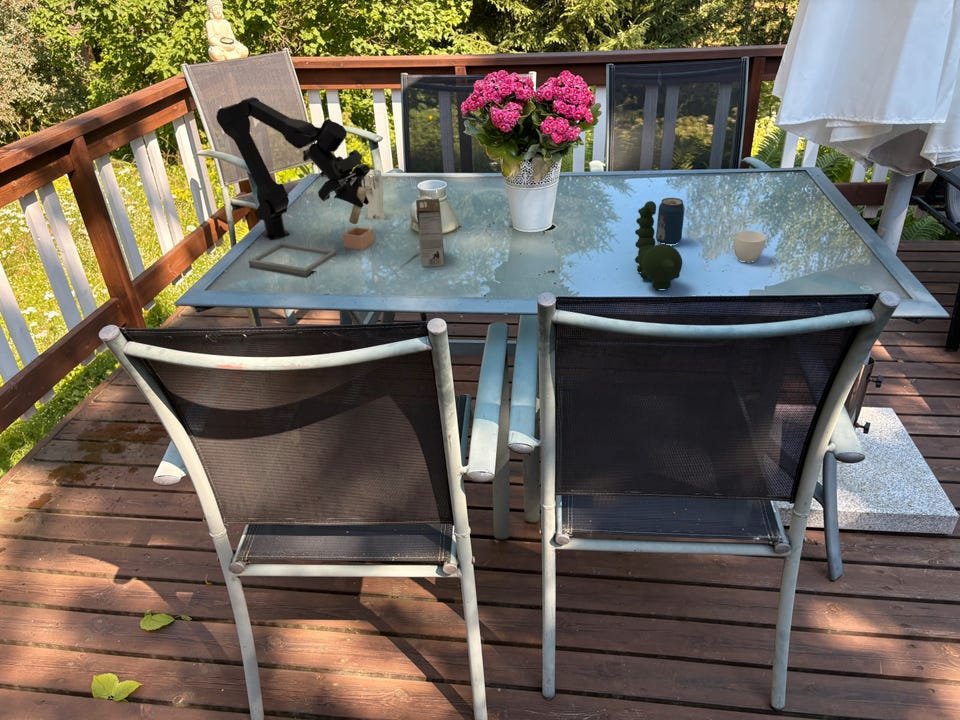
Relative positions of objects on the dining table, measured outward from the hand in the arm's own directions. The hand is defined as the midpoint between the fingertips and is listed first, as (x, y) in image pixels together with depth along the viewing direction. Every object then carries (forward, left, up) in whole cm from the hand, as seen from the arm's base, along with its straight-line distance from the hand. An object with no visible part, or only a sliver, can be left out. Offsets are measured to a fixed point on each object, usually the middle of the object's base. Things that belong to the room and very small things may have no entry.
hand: (365, 205), depth 197 cm
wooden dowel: (-3, -1, -6) cm, 7 cm away
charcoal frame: (-8, -21, -13) cm, 26 cm away
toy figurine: (+67, +44, -14) cm, 82 cm away
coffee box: (+18, +9, -14) cm, 25 cm away
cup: (+75, +71, -14) cm, 105 cm away
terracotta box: (-4, -2, -13) cm, 14 cm away
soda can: (+54, +65, -14) cm, 86 cm away
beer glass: (-22, +14, -14) cm, 29 cm away
